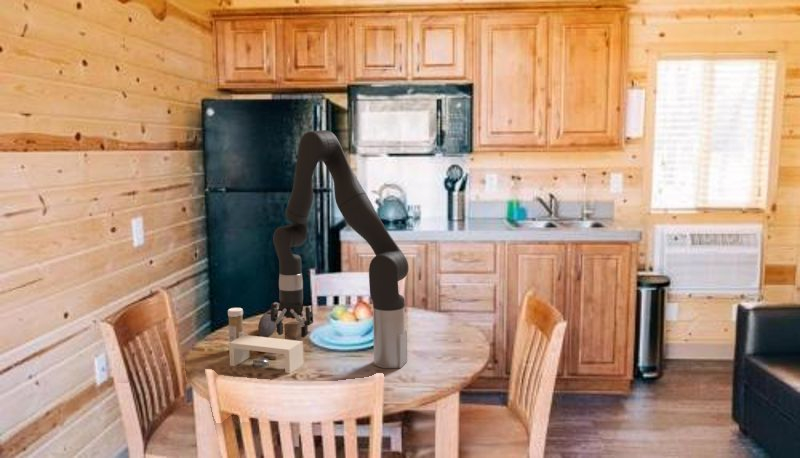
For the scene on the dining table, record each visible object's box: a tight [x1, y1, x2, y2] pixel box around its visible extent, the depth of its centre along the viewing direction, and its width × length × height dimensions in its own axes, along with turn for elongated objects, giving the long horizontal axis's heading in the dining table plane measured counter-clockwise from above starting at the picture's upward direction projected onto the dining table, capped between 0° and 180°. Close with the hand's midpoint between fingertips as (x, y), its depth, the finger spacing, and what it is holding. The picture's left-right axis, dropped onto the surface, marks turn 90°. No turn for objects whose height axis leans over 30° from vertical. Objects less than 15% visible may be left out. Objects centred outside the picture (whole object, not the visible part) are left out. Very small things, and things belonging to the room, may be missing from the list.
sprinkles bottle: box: [227, 307, 245, 343], centre depth 198 cm, size 5×5×13 cm
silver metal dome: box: [252, 357, 269, 368], centre depth 186 cm, size 4×4×2 cm
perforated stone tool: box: [257, 309, 277, 338], centre depth 215 cm, size 15×5×7 cm, turn 175°
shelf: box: [228, 334, 305, 374], centre depth 185 cm, size 20×8×7 cm, turn 70°
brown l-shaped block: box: [263, 320, 303, 360], centre depth 198 cm, size 4×16×7 cm, turn 160°
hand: (292, 335), depth 204 cm, fingers open, 8 cm apart
